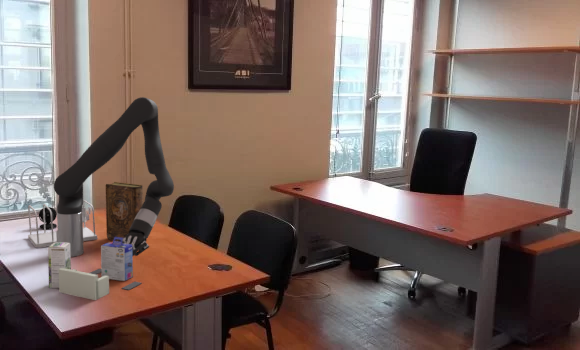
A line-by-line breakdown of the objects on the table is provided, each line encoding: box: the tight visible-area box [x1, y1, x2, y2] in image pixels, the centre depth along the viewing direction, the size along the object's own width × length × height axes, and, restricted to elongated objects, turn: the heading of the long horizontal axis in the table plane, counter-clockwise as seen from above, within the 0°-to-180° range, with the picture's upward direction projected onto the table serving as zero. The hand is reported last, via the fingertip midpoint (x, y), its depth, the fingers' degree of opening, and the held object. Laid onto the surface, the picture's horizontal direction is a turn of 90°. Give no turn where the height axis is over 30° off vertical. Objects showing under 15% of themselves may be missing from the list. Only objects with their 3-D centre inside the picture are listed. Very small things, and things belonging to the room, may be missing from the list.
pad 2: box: [121, 281, 143, 291], centre depth 190 cm, size 3×7×1 cm, turn 157°
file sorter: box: [27, 199, 98, 249], centre depth 241 cm, size 25×17×16 cm
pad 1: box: [89, 268, 101, 275], centre depth 202 cm, size 3×7×1 cm, turn 157°
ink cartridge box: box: [100, 237, 134, 282], centre depth 197 cm, size 10×6×14 cm, turn 74°
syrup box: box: [47, 242, 72, 289], centre depth 188 cm, size 6×6×14 cm
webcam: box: [38, 206, 58, 231], centre depth 259 cm, size 8×8×10 cm
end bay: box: [58, 268, 110, 301], centre depth 183 cm, size 15×6×8 cm, turn 67°
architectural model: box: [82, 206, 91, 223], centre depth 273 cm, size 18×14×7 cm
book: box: [105, 181, 144, 241], centre depth 241 cm, size 16×6×25 cm, turn 68°
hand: (123, 264), depth 200 cm, fingers closed
